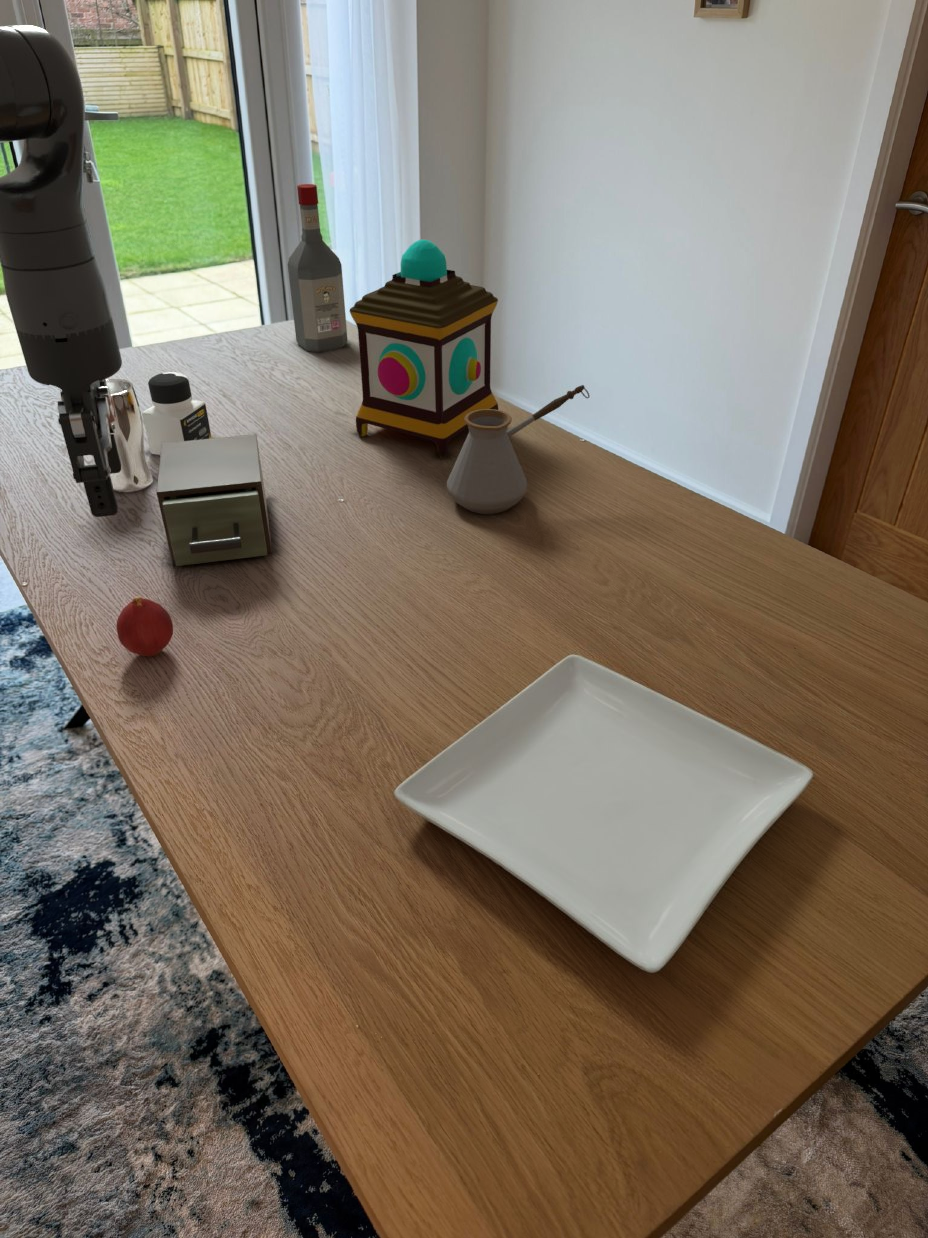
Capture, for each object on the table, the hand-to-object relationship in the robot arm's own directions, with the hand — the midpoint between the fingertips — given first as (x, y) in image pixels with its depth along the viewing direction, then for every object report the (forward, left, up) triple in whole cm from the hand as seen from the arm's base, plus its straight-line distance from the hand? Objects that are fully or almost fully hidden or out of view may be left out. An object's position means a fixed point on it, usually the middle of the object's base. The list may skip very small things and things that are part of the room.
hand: (108, 492), depth 83 cm
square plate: (+40, -28, -23) cm, 54 cm away
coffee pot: (+49, +32, -23) cm, 63 cm away
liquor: (+28, +105, -23) cm, 111 cm away
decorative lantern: (+41, +58, -23) cm, 74 cm away
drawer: (+7, +26, -22) cm, 35 cm away
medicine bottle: (+1, +60, -23) cm, 64 cm away
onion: (-1, +5, -23) cm, 23 cm away
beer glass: (-6, +49, -23) cm, 54 cm away
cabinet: (+7, +31, -23) cm, 39 cm away
